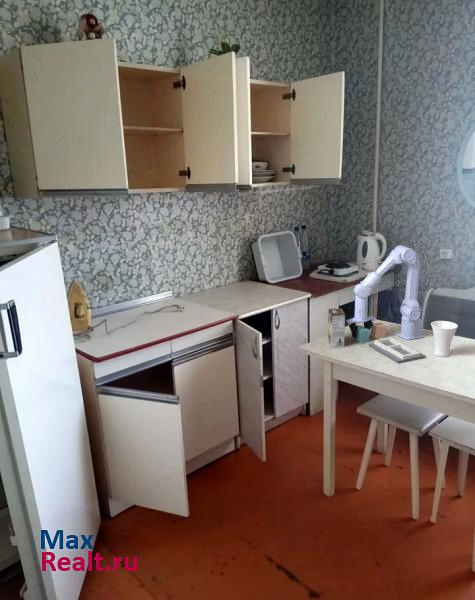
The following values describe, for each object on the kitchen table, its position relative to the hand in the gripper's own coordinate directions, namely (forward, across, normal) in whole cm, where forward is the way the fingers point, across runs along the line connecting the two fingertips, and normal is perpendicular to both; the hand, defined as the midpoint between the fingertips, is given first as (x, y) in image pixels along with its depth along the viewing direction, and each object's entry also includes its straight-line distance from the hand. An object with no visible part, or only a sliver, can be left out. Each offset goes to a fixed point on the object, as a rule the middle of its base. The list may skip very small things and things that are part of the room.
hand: (360, 336), depth 221 cm
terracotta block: (+2, -10, 0) cm, 10 cm away
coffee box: (+2, +13, 0) cm, 13 cm away
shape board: (+1, -6, +19) cm, 20 cm away
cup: (+2, -22, +29) cm, 36 cm away
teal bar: (+2, 0, 0) cm, 2 cm away
